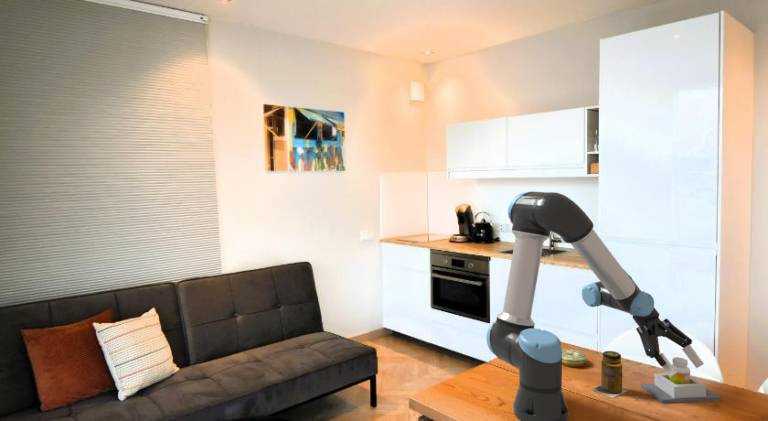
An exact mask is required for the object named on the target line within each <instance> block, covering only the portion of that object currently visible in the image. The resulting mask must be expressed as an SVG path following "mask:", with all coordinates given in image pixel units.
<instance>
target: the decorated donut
mask: <svg viewBox="0 0 768 421" xmlns="http://www.w3.org/2000/svg"><path fill="white" fill-rule="evenodd" d="M587 361H589V360H588V357H587V356H586V354H585V353H583V352H581V351H579V350H576V349H562V366H566V367H572V368H576V367H582V366H583V365H584V364H586V362H587Z"/></svg>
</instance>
